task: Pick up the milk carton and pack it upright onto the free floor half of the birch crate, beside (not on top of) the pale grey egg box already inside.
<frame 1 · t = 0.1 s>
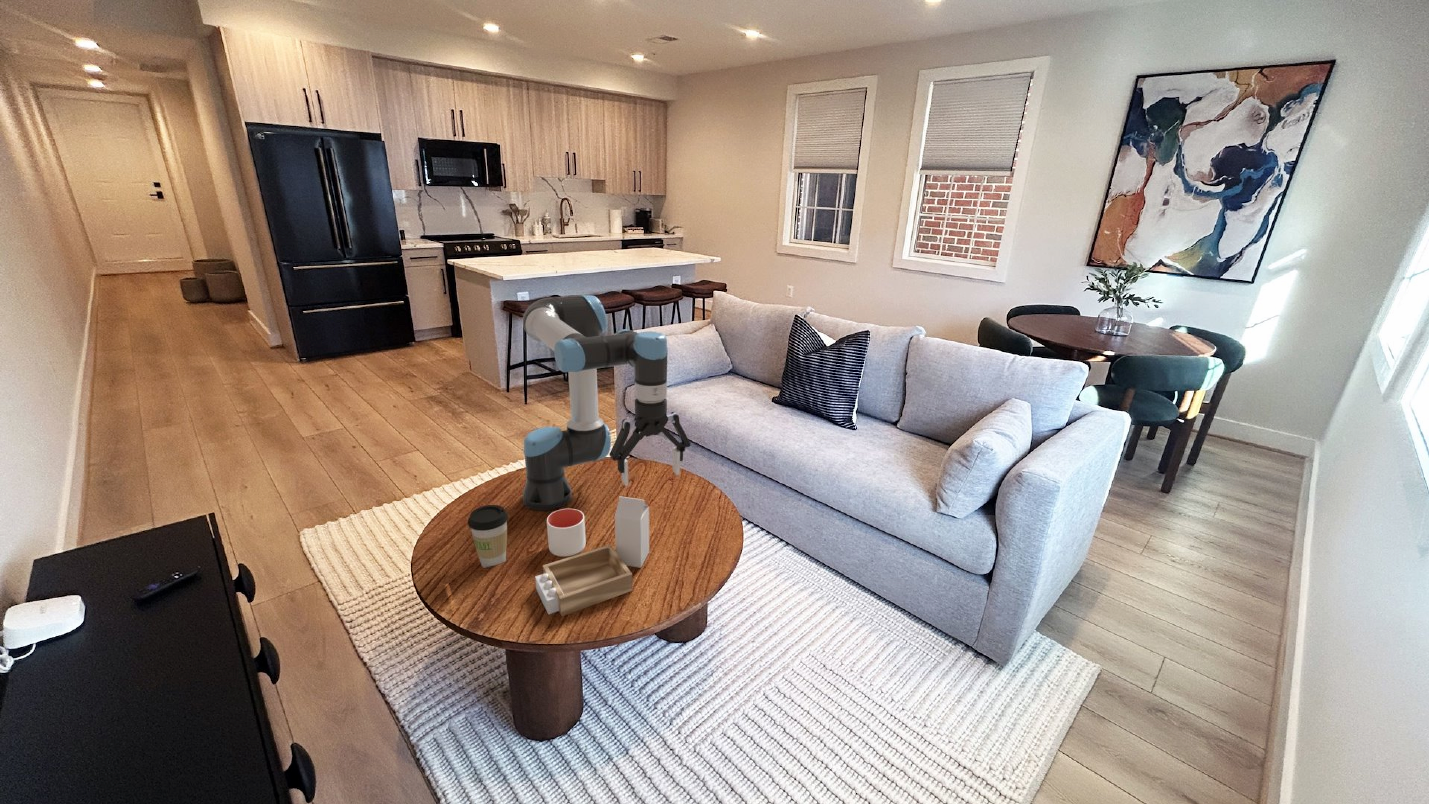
hand: (651, 478, 138), 28 cm above the table, fingers open, 13 cm apart
milk carton: (632, 559, 152), on the table
crate: (588, 589, 139), on the table
coffee cup: (493, 562, 148), on the table
egg box: (550, 599, 134), resting on crate
cup: (567, 549, 155), on the table
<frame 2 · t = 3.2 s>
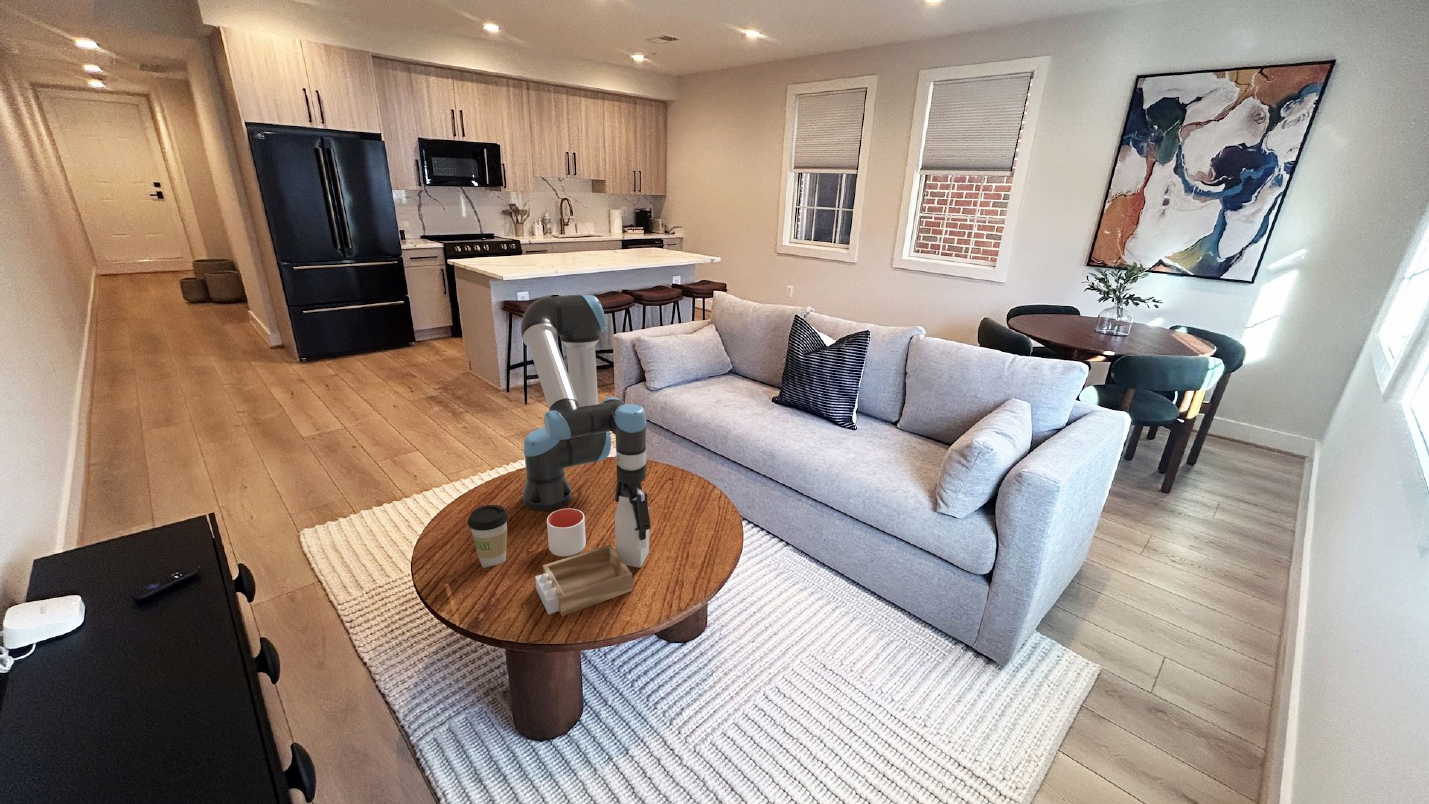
hand: (632, 537, 149), 7 cm above the table, fingers closed on milk carton, 10 cm apart
milk carton: (632, 559, 152), on the table, touching gripper
everything else where it was.
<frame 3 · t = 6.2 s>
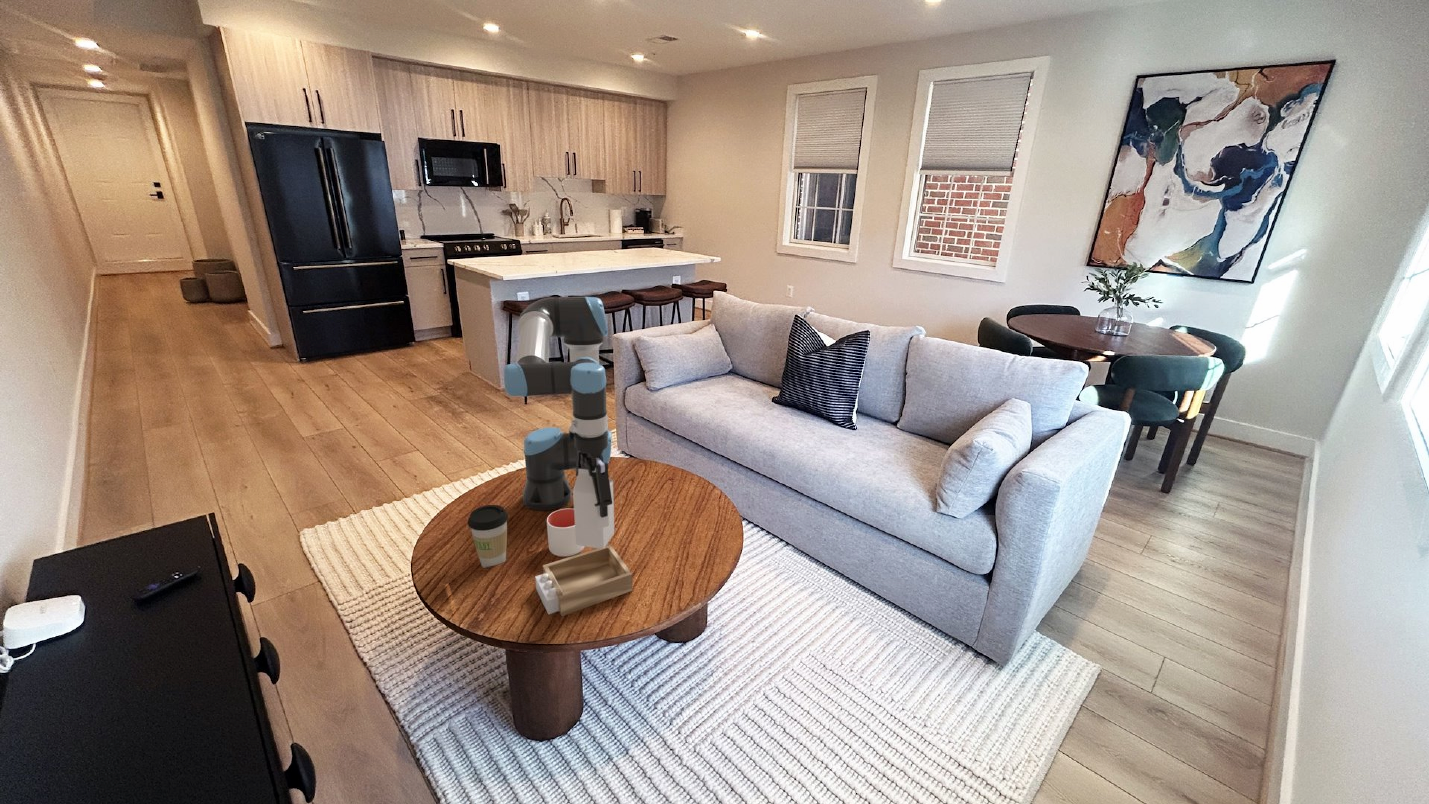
hand: (594, 515, 133), 21 cm above the table, fingers closed on milk carton, 10 cm apart
milk carton: (595, 540, 136), point 14 cm above the table, touching gripper
everything else where it was.
when the fingers open (9 cm above the table, at t = 9.2 s): milk carton stays where it is, resting on crate.
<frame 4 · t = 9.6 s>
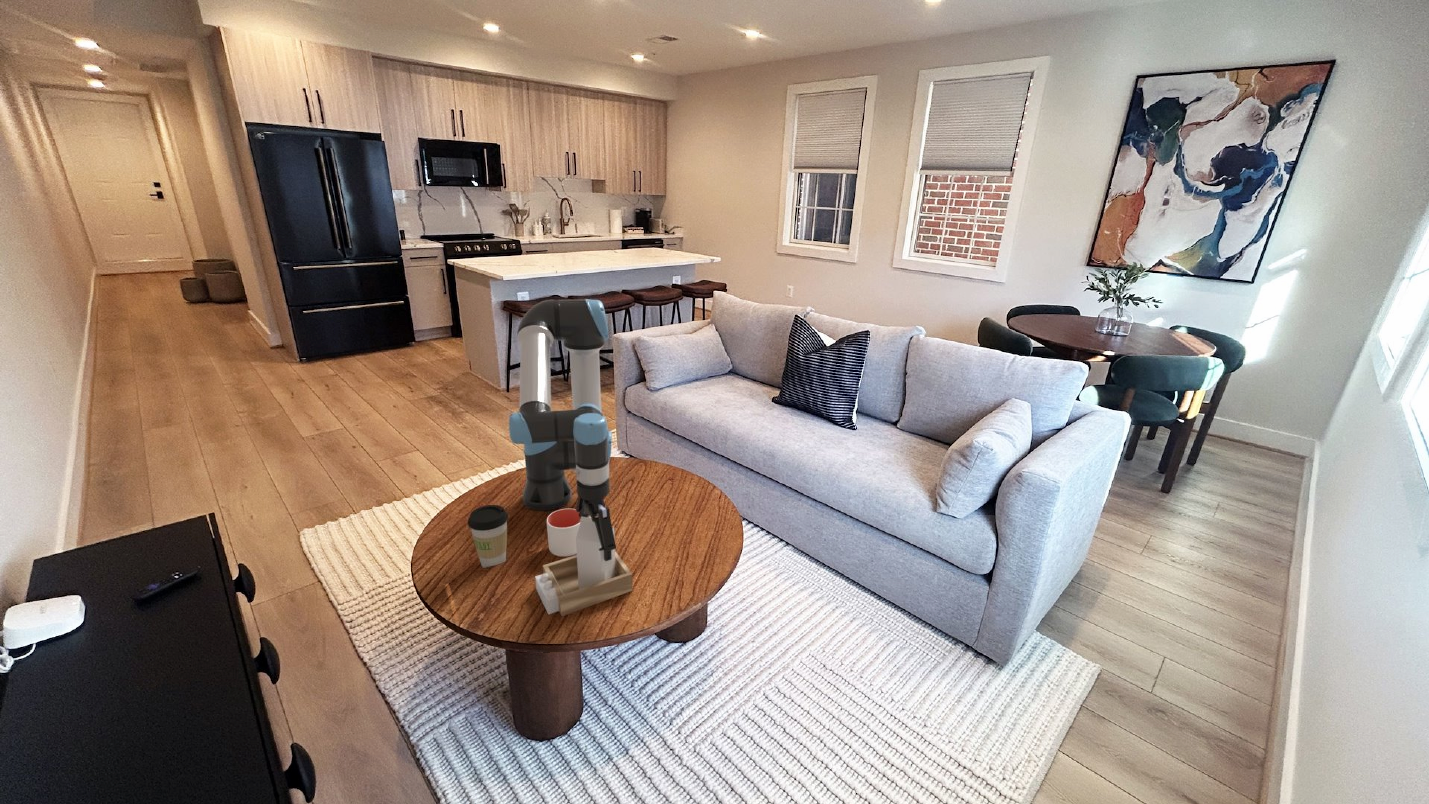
hand: (596, 554, 137), 10 cm above the table, fingers open, 13 cm apart
milk carton: (597, 583, 140), point 1 cm above the table, touching crate
everything else where it was.
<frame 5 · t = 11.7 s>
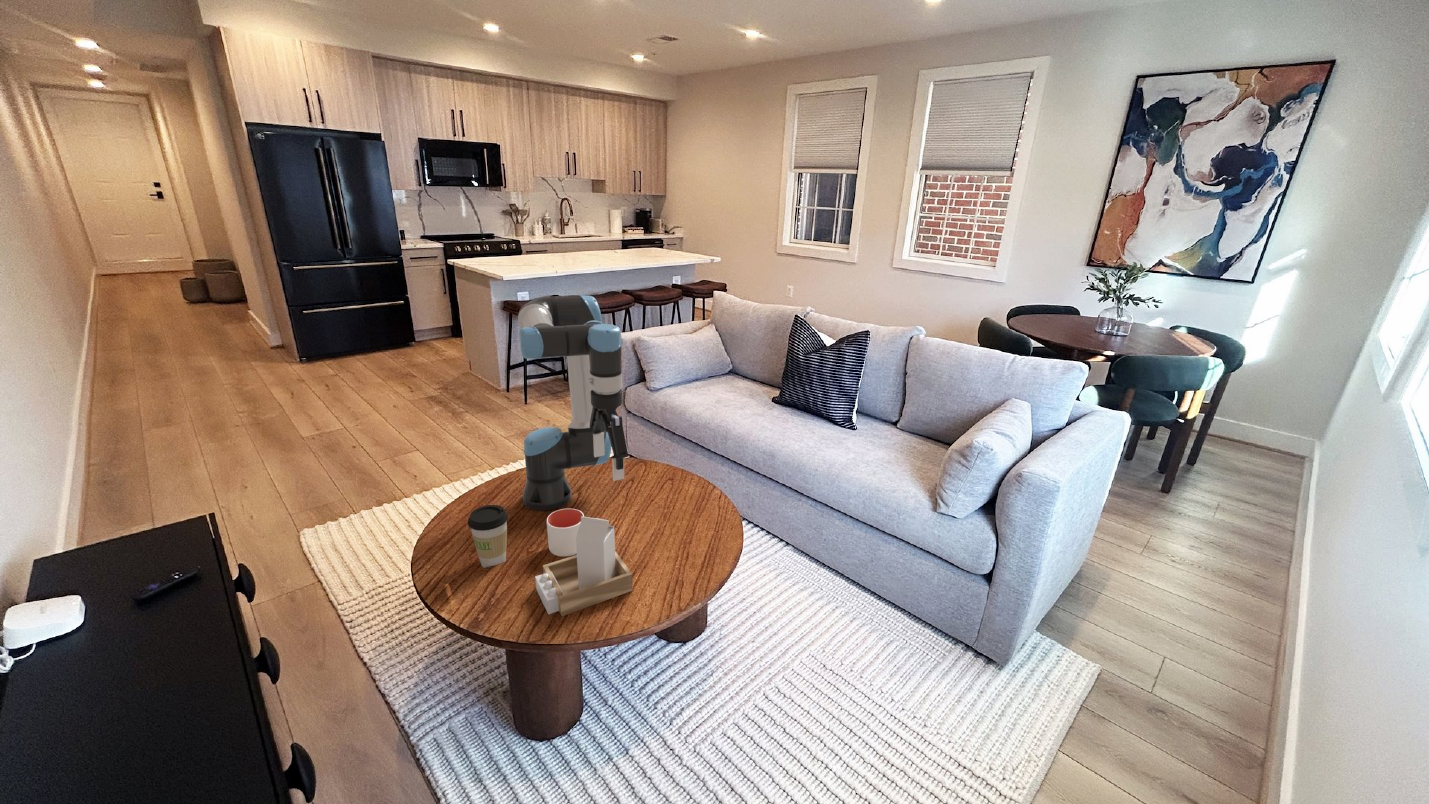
hand: (608, 467, 141), 28 cm above the table, fingers open, 13 cm apart
nothing on the table moved.
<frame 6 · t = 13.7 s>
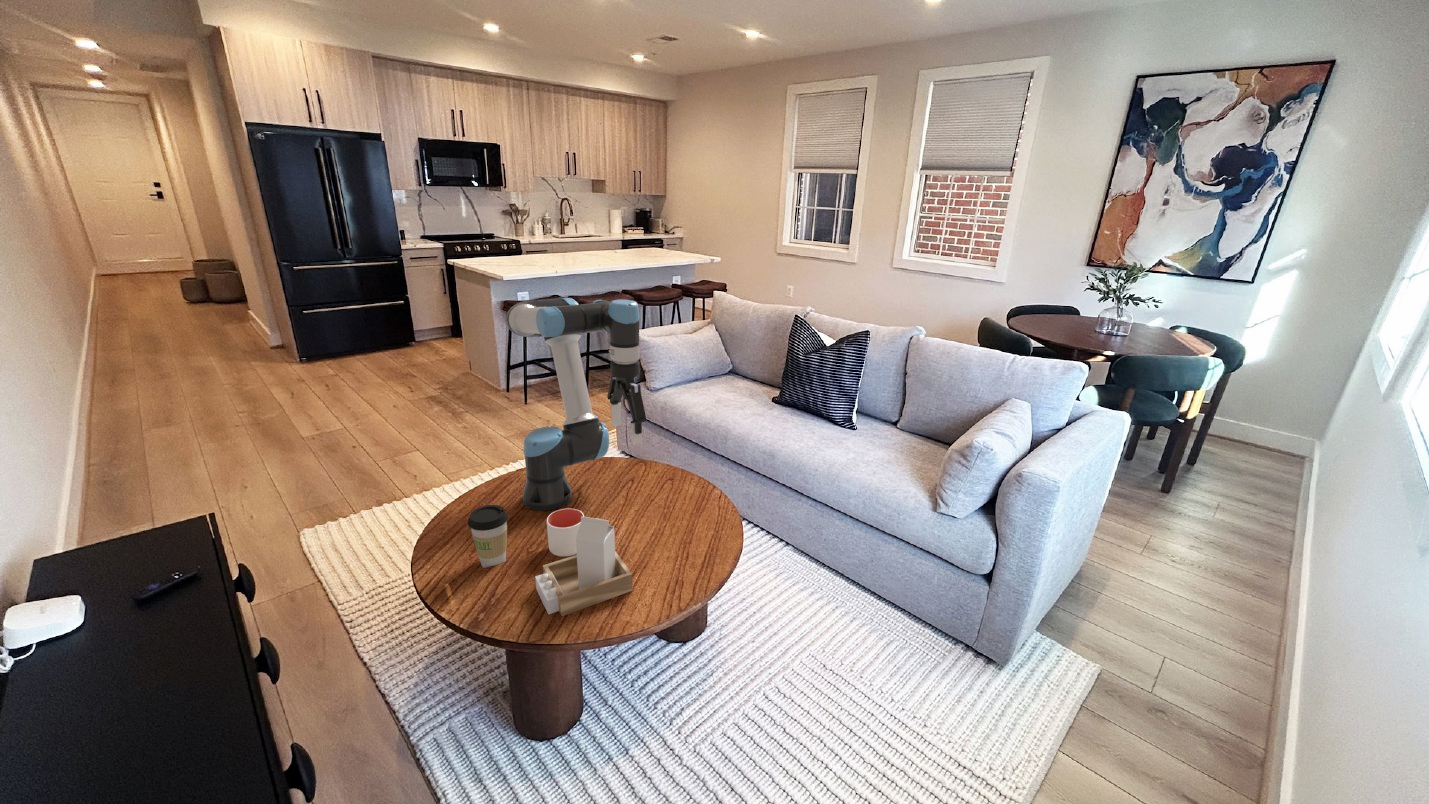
hand: (626, 434, 152), 32 cm above the table, fingers open, 13 cm apart
nothing on the table moved.
at the end: milk carton inside the target area on the crate (0.2 cm from its centre), point 0.8 cm above the crate's base; milk carton tilted 0°; the gripper is holding nothing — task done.
